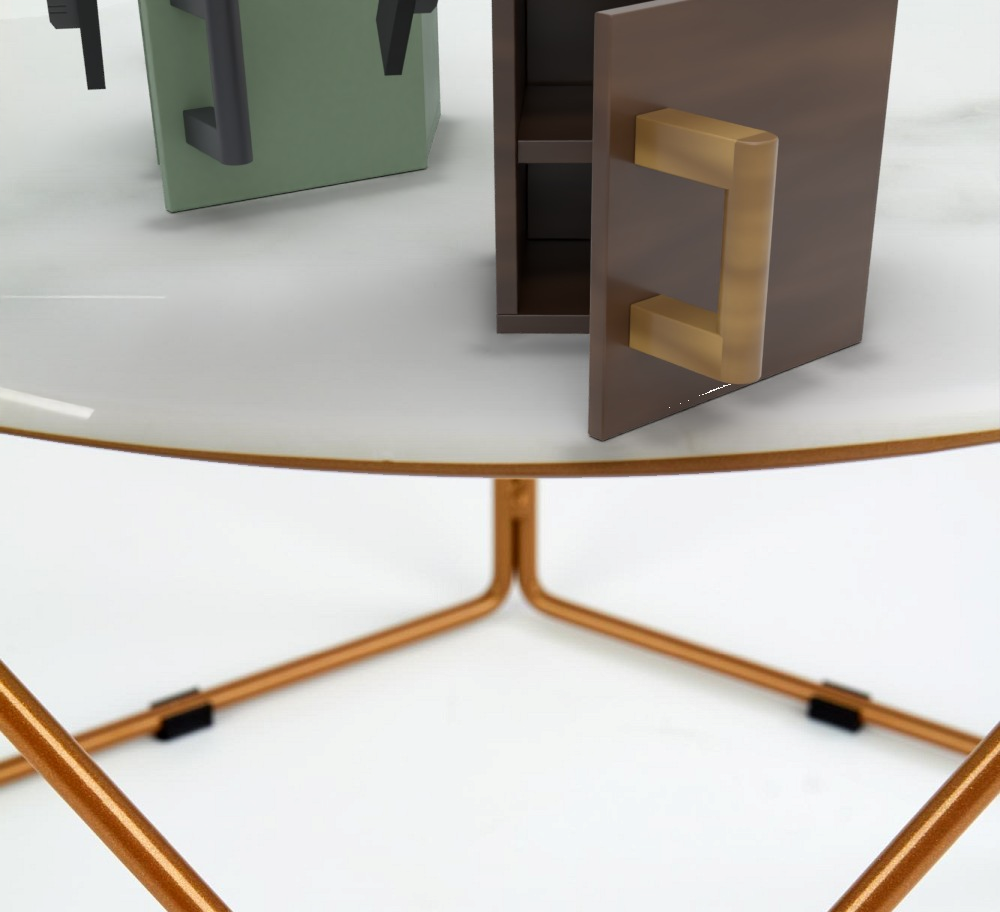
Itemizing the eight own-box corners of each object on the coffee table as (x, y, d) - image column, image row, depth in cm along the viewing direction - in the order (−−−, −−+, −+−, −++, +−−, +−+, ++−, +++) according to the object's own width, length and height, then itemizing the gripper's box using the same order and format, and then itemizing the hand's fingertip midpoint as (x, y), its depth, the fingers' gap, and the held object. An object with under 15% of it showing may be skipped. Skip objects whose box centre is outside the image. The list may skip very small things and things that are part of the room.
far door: (476, 191, 89) (470, -120, 81) (211, 240, 83) (175, -92, 75) (420, 164, 93) (409, -133, 85) (165, 209, 87) (126, -107, 79)
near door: (969, 377, 67) (1028, -25, 59) (709, 487, 59) (735, 40, 51) (847, 336, 71) (886, -46, 63) (587, 435, 63) (593, 12, 55)
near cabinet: (852, 337, 71) (892, -52, 63) (496, 335, 72) (490, -49, 64) (823, 253, 80) (855, -96, 72) (508, 252, 81) (504, -93, 73)
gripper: (-143, -247, 50) (-40, 149, 71) (656, -256, 54) (531, 118, 75) (-166, -469, 51) (-58, -15, 72) (616, -459, 56) (504, -35, 76)
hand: (243, 54), depth 74 cm, fingers open, 12 cm apart
